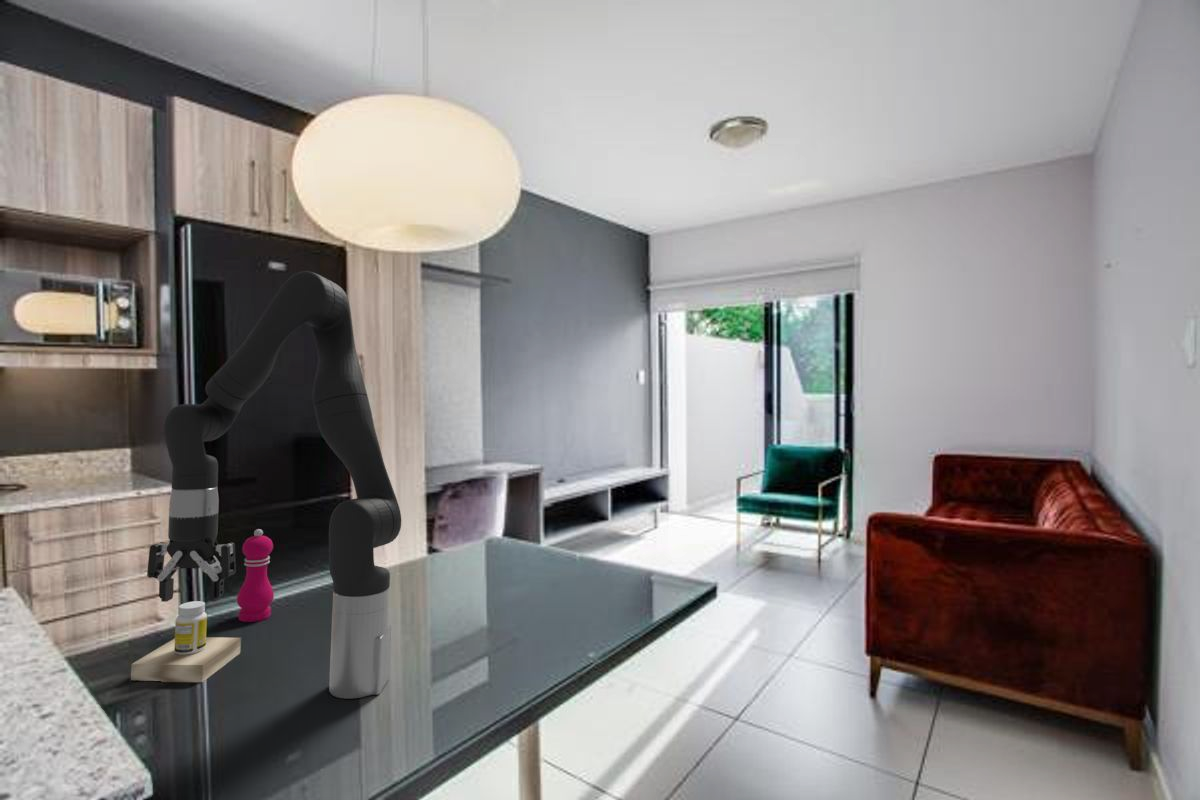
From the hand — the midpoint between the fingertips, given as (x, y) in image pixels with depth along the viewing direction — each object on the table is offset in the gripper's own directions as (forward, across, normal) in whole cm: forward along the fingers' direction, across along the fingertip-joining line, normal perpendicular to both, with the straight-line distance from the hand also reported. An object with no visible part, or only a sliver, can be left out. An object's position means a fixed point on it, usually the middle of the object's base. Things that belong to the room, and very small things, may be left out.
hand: (191, 600), depth 108 cm
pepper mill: (+12, +1, -25) cm, 28 cm away
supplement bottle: (+10, 0, 0) cm, 10 cm away
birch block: (+12, 0, 0) cm, 12 cm away
